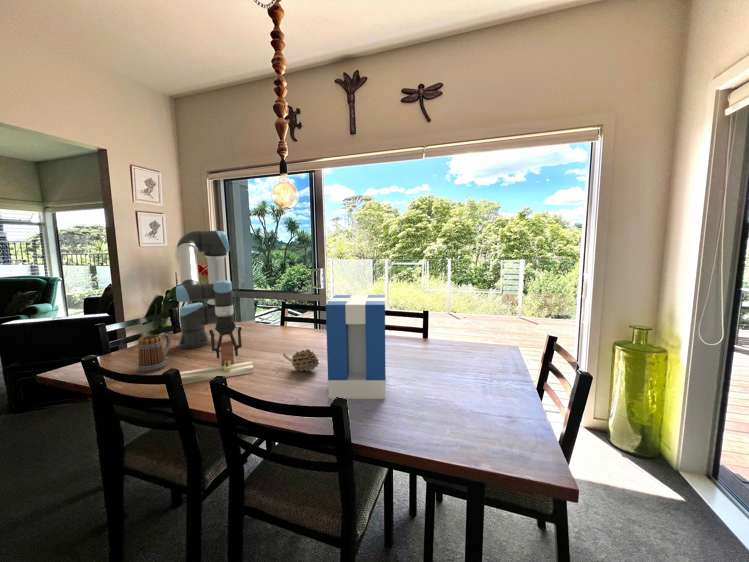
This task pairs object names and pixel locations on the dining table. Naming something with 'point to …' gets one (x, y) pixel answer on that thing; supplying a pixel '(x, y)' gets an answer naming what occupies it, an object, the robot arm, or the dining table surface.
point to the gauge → (227, 354)
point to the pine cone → (303, 360)
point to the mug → (153, 353)
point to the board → (216, 372)
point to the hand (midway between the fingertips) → (228, 363)
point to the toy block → (356, 346)
